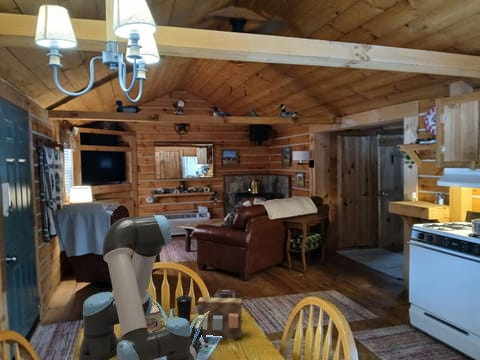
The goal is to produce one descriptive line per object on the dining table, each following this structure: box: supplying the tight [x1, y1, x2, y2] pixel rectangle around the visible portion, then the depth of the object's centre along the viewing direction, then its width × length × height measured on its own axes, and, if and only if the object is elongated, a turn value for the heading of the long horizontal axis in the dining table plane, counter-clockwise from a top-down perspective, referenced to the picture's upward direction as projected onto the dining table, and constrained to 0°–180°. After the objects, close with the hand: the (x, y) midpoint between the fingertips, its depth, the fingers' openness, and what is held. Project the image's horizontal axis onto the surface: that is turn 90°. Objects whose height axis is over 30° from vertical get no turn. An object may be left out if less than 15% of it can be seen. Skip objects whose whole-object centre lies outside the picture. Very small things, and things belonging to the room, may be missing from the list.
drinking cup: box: [175, 284, 193, 325], centre depth 167 cm, size 8×8×20 cm
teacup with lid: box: [145, 302, 165, 333], centre depth 166 cm, size 12×9×12 cm
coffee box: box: [214, 288, 237, 298], centre depth 170 cm, size 9×6×16 cm
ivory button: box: [197, 314, 208, 330], centre depth 154 cm, size 4×8×5 cm, turn 175°
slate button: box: [213, 315, 223, 330], centre depth 154 cm, size 4×8×5 cm, turn 175°
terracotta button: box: [229, 313, 238, 328], centre depth 156 cm, size 4×8×5 cm, turn 175°
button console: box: [197, 296, 243, 340], centre depth 159 cm, size 19×6×17 cm, turn 85°
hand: (200, 324), depth 145 cm, fingers closed
